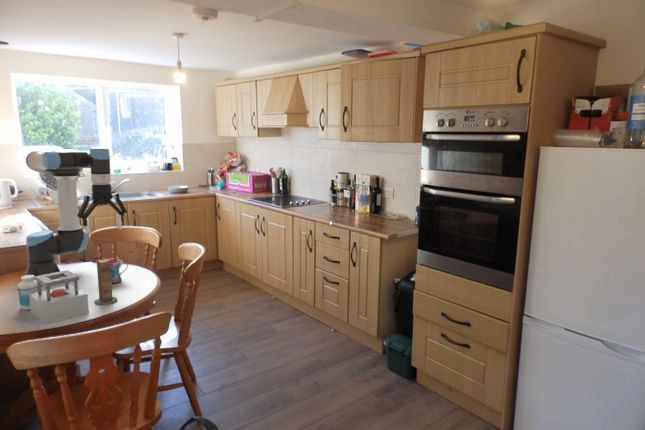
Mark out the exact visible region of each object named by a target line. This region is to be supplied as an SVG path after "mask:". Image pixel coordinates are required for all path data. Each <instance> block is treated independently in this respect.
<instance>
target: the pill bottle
mask: <svg viewBox="0 0 645 430" xmlns="http://www.w3.org/2000/svg"><path fill="white" fill-rule="evenodd" d="M34 279H35V276H34V275H23V276H20V280H21V282H19V283H18V285H17V291H18V300H19V301H18V302H19V308H20V309H21V310H23V311H29V310H30V311H31V308H30V298H29V294H33V293H37V292H38V285H37V281H36V280H34Z"/></svg>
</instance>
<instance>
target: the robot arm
mask: <svg viewBox="0 0 645 430" xmlns="http://www.w3.org/2000/svg"><path fill="white" fill-rule="evenodd" d="M110 158H111V155H110V150H109V148H107V147H90V148H89V150H78V151H77V150H76V149H67V148H65V149H64V148H62V149H61V148H60V149H56V148H55V149H46V148H44V149H37V150H33V151H30V152H29V153H28V154H27V156H26V157H25V164H26V165H27V167H28V168H29V169H31V170H32V171H34V172H37V173H42V174H43V173H44V174H52V177H53V178H54V179H56V189H57V202H58V214H59V226H58V227H57V228H56V232H54V231H53V230H49V229H48V230H39V231H35V232H33V233H30V234H29V235H27V236H26V238H25V239H26V240H25V243H26V244H25V246H26V252H27V267H26V271H25V275H34V276H40V275H45V274H50V273H55V272H61V270H60V267H59V265H58V264H57V260H56V256H60V255H67V254H73V253H74V254H76V253H80V252H83V251H84V250H86V249H87V248H86V247H87V245H88V238H89V237H88V235H89V234H91V230H90V229H91V228H90V219H89V216H90V215H91V214H92V212H93V211H94V210H95V208H96V207H97V206H103V205H104V206H105V205H109V206H110V207H111V208H112V209H113V210H114V211H115V212H116V213H117V214H116V228H117V229H118V230H122V223H123V222H124V221H123V220H124V215H125V214H127V213H128V210H127V209H126V207H125V205H124V204H123V201H122V200H121V198H120V194H119V193H116V192H114V193H112V184H111V182H112V181H111V180H112V179H111V164H110V162H111V159H110ZM83 169H90V180H91V183H92V184H91V193H92V194H91V195H84V197H83V201H82V204H81V206H80V208H79V205H78V203H79V202H78V190H77V188H78V187H77V178H78V177H80V173H82V172H83ZM112 198H113V199H114V201H115V202H116V204H117V205H118V206H117V205H116V204H115V203H114V202H113V201H112ZM91 200H92V202H91V204H90V205H89V203H90V201H91ZM88 205H89V207H88ZM79 218H80V219H82V221H81V222H82V225H81V224H80V221H79V220H80V219H79ZM83 227H84V228H83ZM25 275H24V276H25ZM54 279H56V278H54ZM34 280H35V279H34ZM51 280H53V279H51Z"/></svg>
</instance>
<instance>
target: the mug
mask: <svg viewBox="0 0 645 430" xmlns="http://www.w3.org/2000/svg"><path fill="white" fill-rule="evenodd" d="M107 260H109V261H110V264H111V280H112V284H116V283H119V282H121V281H122V280H123V279H122V277H121V276H122V274H123V273H124V272H125V271H126V270H127V269H128V267H129V264H128V263H127V262H123V261H122V259H120V258H110V259H107ZM124 264H125V265H126V267H125V269H124V270H122V271H120V268H121V267H122V265H124Z"/></svg>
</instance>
